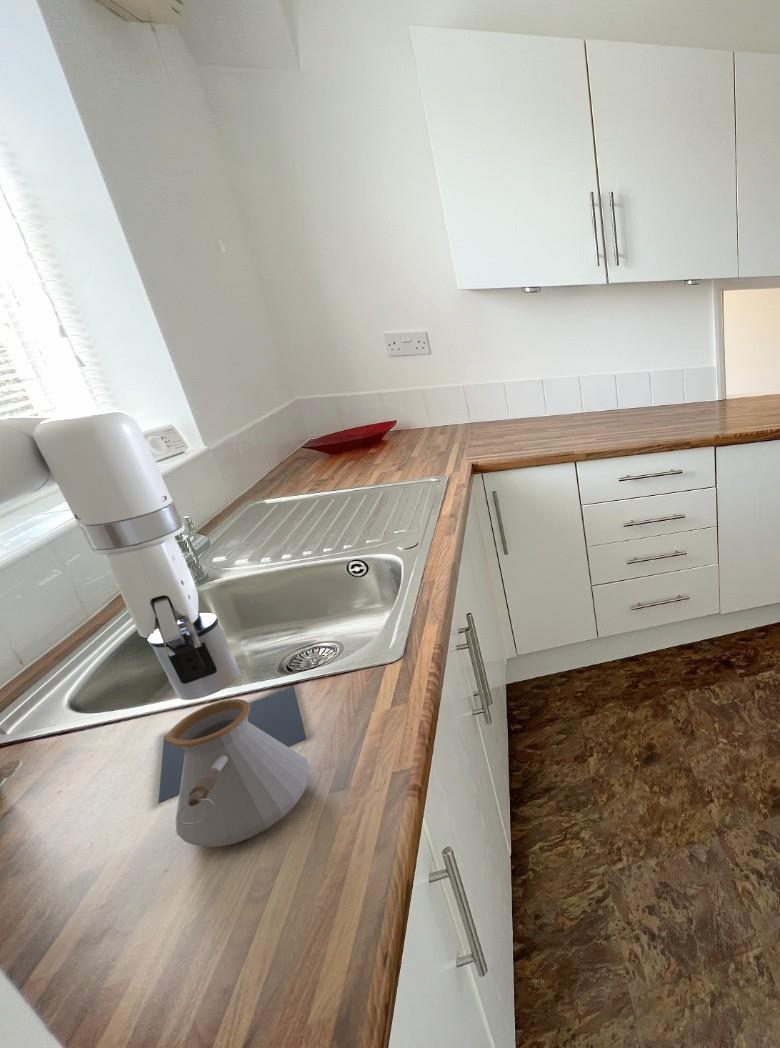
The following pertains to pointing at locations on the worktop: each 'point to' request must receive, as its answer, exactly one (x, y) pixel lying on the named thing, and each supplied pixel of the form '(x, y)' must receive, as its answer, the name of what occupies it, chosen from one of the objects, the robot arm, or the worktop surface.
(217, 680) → the canister
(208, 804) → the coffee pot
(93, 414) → the robot arm
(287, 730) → the mat
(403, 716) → the worktop surface
